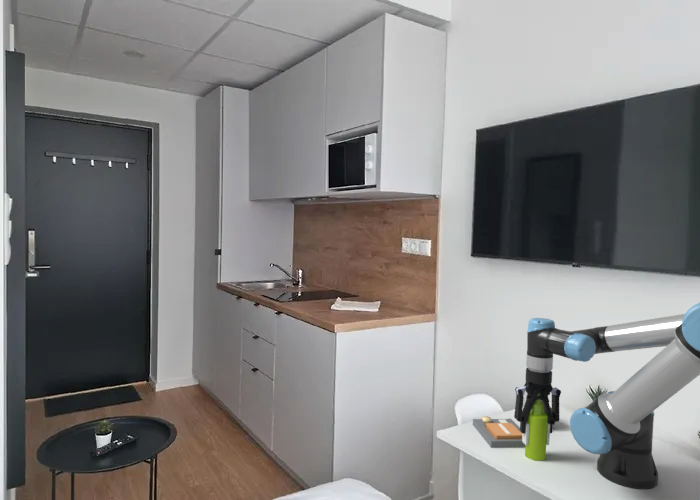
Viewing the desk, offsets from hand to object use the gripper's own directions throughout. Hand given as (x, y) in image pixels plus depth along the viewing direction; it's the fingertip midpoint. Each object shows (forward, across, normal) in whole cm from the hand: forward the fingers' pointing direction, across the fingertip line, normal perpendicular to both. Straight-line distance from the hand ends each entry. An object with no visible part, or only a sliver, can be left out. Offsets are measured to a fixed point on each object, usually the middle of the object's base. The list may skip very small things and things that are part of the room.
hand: (535, 443), depth 146 cm
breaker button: (+4, +5, -13) cm, 14 cm away
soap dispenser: (+4, 0, 0) cm, 4 cm away
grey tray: (+4, +5, -15) cm, 16 cm away
